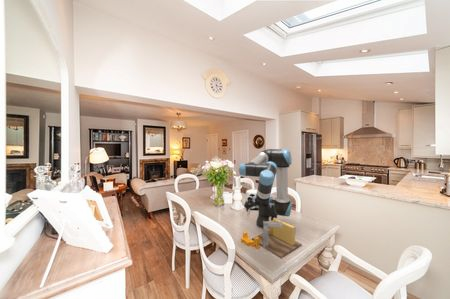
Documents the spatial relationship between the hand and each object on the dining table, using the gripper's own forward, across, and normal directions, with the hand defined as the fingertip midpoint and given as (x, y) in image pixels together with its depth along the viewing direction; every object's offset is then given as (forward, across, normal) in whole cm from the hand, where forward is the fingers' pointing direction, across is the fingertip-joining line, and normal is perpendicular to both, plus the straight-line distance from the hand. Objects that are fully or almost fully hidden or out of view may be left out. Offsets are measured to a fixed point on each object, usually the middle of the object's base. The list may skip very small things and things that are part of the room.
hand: (258, 218), depth 111 cm
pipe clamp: (+24, -2, -5) cm, 24 cm away
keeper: (+21, +13, -2) cm, 25 cm away
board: (+24, +14, +4) cm, 28 cm away
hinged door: (+23, +17, +9) cm, 30 cm away
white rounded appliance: (+57, -12, +55) cm, 80 cm away
